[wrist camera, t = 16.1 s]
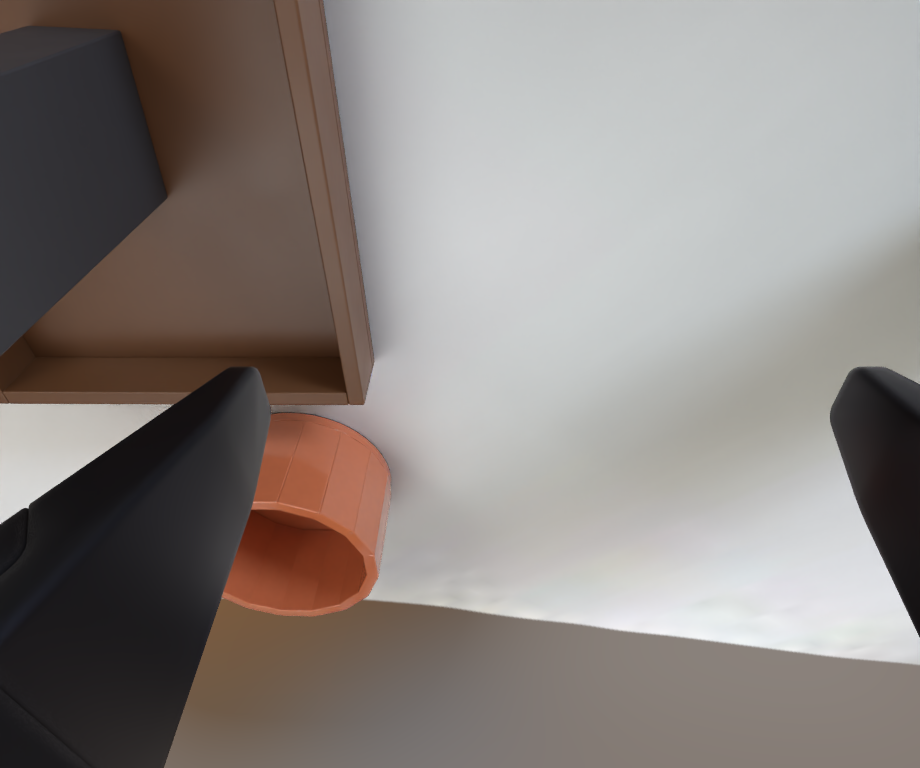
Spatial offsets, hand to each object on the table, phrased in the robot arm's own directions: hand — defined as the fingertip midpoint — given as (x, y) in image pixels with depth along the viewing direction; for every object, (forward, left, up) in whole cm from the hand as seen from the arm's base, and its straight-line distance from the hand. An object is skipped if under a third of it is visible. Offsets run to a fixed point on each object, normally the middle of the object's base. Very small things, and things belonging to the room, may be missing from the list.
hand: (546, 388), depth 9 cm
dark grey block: (+12, -1, -12) cm, 17 cm away
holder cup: (+9, +15, -12) cm, 22 cm away
